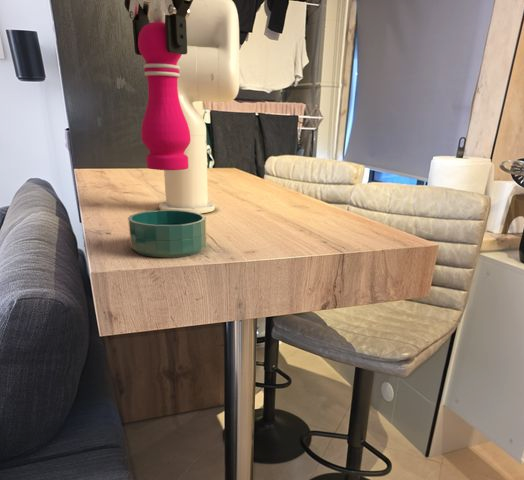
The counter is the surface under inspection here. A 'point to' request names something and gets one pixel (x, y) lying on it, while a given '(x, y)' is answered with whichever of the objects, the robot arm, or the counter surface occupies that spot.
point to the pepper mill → (162, 100)
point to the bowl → (167, 233)
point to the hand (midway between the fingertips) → (160, 52)
